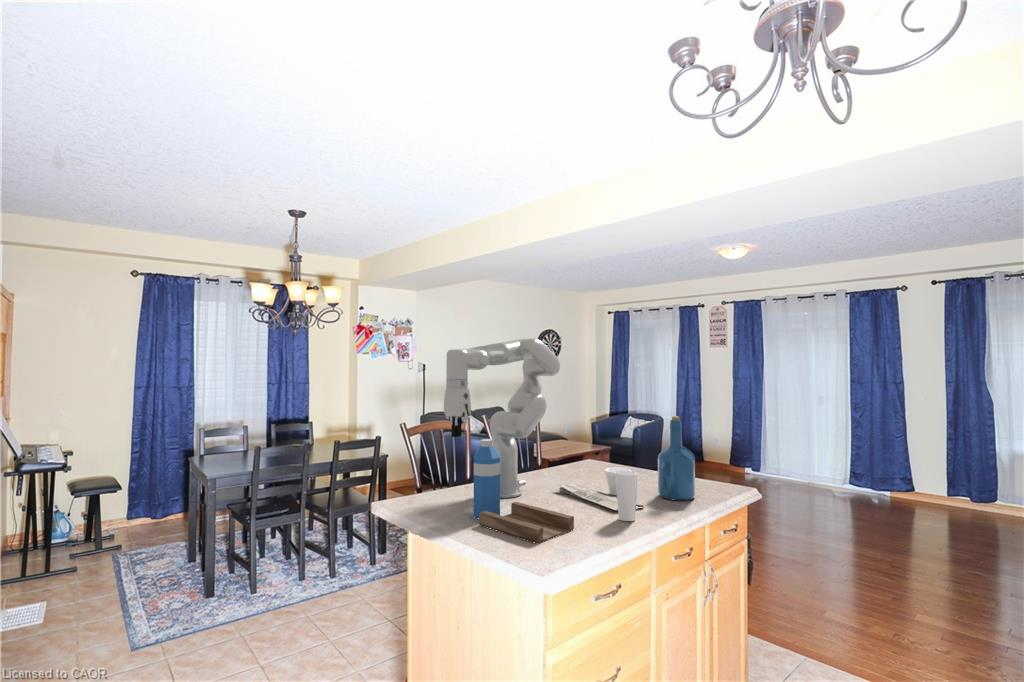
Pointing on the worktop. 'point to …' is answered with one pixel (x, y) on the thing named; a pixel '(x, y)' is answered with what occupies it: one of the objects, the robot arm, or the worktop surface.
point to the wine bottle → (676, 467)
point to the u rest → (528, 522)
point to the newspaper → (592, 496)
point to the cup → (613, 478)
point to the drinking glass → (626, 494)
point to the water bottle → (486, 479)
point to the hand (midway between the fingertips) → (456, 436)
